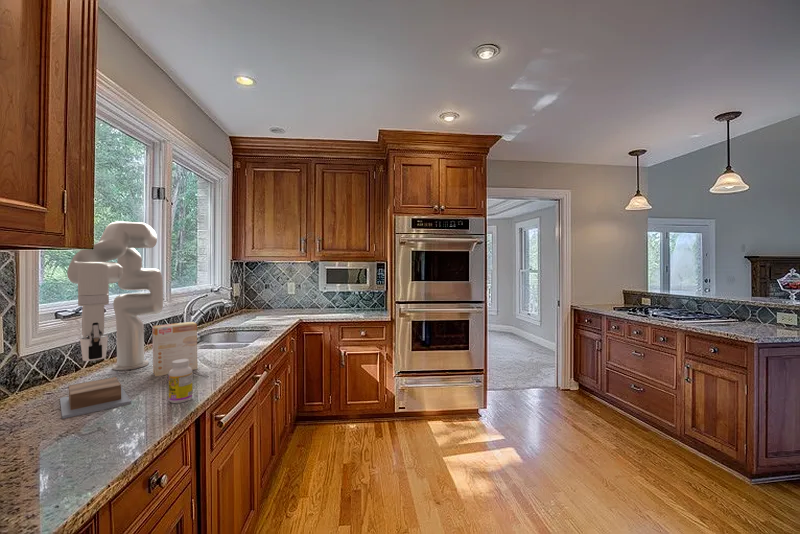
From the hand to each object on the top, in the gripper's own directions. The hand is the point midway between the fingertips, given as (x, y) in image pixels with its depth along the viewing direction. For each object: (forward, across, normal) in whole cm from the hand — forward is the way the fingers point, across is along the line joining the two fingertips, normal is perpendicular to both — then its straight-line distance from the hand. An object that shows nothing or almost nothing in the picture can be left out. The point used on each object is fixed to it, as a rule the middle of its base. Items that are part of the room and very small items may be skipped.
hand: (94, 356), depth 115 cm
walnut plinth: (+15, 0, 0) cm, 15 cm away
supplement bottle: (+15, +18, +20) cm, 31 cm away
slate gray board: (+15, 0, 0) cm, 15 cm away
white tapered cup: (+1, 0, 0) cm, 1 cm away
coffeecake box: (+15, -20, +27) cm, 37 cm away
